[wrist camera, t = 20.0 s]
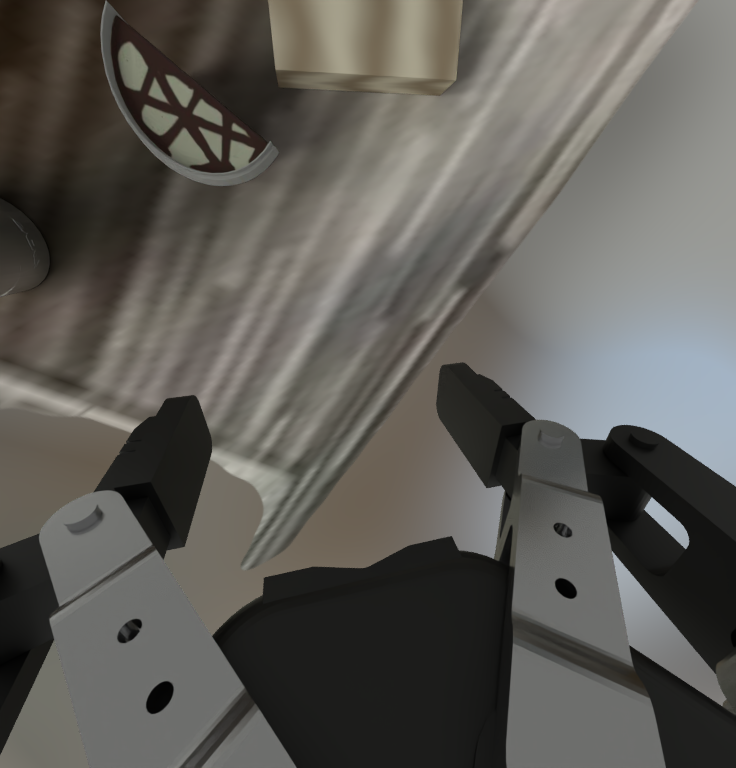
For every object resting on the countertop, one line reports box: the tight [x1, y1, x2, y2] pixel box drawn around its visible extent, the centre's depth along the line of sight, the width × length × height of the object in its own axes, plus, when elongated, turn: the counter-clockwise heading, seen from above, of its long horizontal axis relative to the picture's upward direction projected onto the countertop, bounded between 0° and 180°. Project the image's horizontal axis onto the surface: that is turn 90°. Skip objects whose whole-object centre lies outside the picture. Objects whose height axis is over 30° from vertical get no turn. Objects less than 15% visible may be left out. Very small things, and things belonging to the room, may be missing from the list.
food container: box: [100, 1, 279, 186], centre depth 27 cm, size 12×6×10 cm, turn 53°
